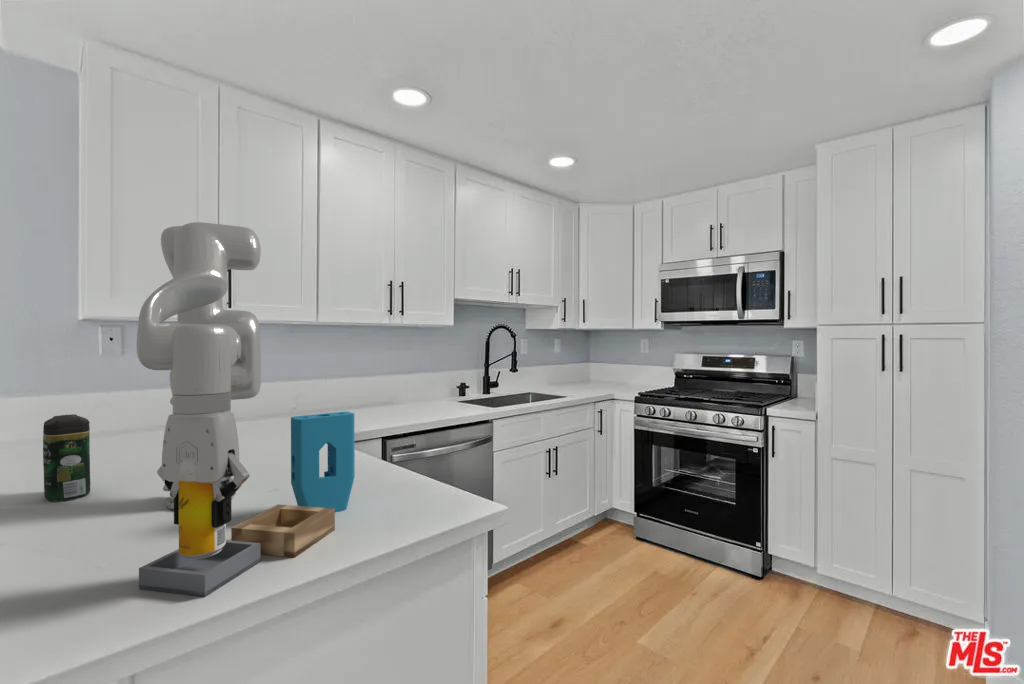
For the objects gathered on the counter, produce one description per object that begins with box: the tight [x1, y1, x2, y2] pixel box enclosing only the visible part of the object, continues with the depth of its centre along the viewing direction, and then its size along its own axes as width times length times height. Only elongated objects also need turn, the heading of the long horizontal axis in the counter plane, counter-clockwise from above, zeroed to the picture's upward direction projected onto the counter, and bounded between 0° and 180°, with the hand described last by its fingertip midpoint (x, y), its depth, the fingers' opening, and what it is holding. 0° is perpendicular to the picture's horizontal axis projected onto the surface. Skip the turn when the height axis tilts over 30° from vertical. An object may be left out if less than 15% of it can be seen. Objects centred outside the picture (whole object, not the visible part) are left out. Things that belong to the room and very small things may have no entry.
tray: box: [138, 539, 262, 598], centre depth 75 cm, size 11×11×3 cm
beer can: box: [178, 458, 227, 559], centre depth 75 cm, size 6×6×15 cm
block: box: [290, 411, 356, 513], centre depth 103 cm, size 12×5×20 cm, turn 130°
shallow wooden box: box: [230, 504, 336, 558], centre depth 88 cm, size 12×12×4 cm
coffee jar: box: [42, 413, 91, 502], centre depth 113 cm, size 10×8×19 cm
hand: (203, 521), depth 75 cm, fingers closed on beer can, 6 cm apart
